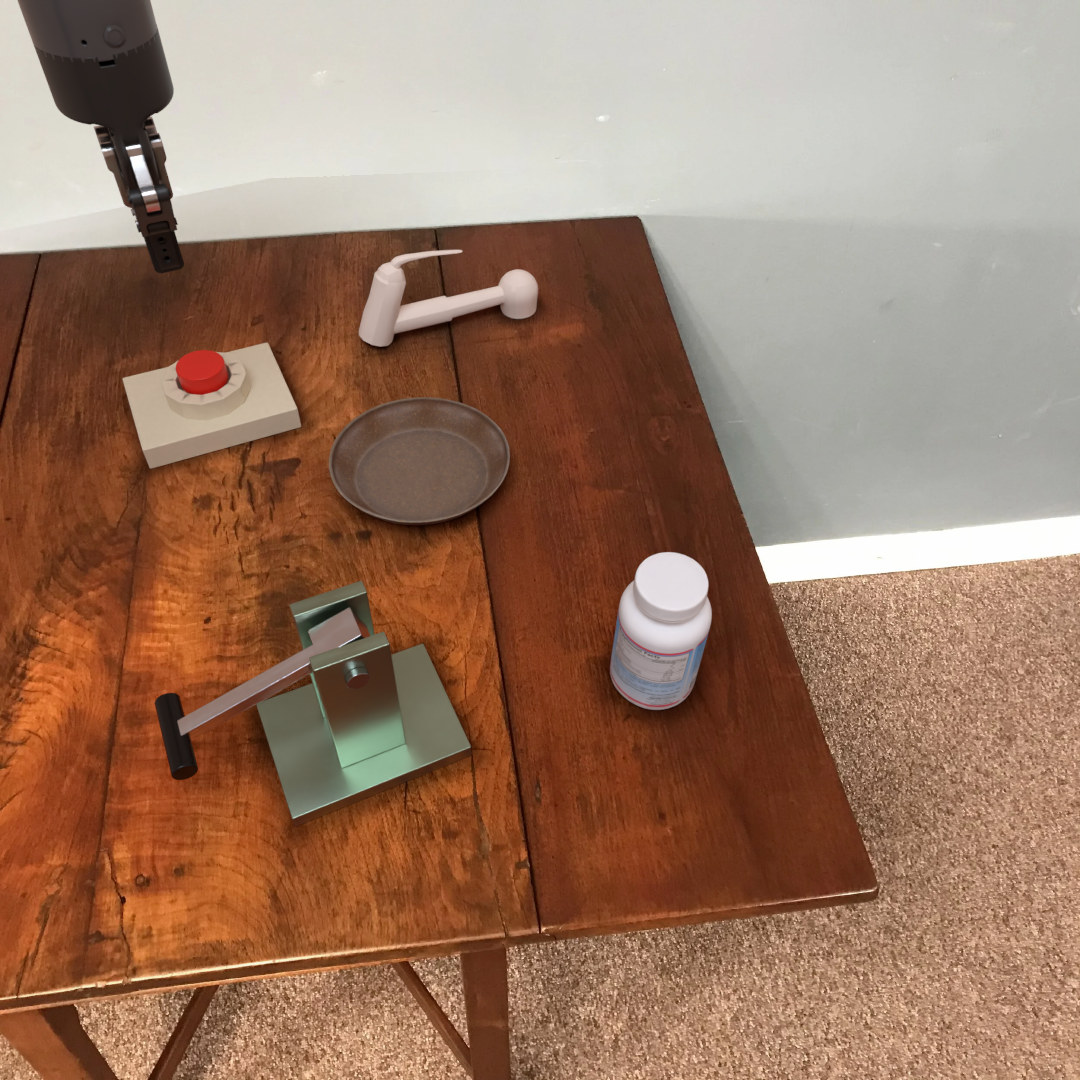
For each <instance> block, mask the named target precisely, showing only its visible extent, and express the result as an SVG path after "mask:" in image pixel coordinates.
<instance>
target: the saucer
mask: <svg viewBox="0 0 1080 1080" xmlns="http://www.w3.org/2000/svg"><path fill="white" fill-rule="evenodd" d="M510 460H511V452H510V445H509V442H508V439H507V437H506V435H505V433H504V432H503V430H502V429H501V427H500V426H498V424H497V423H496V422H495V421H494V420H493V419H492V418H490V417H489V416H488V415H487V414H485V413H483V412H482V411H480V410H479V409H477V408H475V407H473V406H470V405H468V404H465V403H462V402H459V401H456V400H451V399H447V398H441V397H433V396H431V397H429V396H421V397H420V396H419V397H418V396H417V397H406V398H400V399H395V400H391V401H387V402H384V403H381V404H378V405H376V406H373V407H372V408H369V409H367V410H366V411H363V412H362V413H360V414H359V415H357V416H356V417H354V418H353V419H352V420H351V421H350V422H348V423H347V424H346V425H345V426H344V427H343V429H341V431H340V432H339V433H338V434H337V436H336V438H335V439H334V441H333V443H332V445H331V447H330V452H329V457H328V471H329V475H330V479H331V481H332V483H333V485H334V487H335V488H336V490H337V491H338V493H339V494H340V495H341V496H342V498H344V499H345V500H346V501H347V503H349V504H351V506H353V507H354V508H356V509H358V510H360V511H361V512H363V513H365V514H367V515H368V516H370V517H373V518H376V519H378V520H381V521H383V522H387V523H392V524H397V525H402V526H403V525H406V526H427V525H435V524H436V525H437V524H441V523H445V522H448V521H451V520H454V519H457V518H459V517H462V516H464V515H466V514H469V513H470V512H472V511H474V510H476V509H477V508H478V507H479V506H481V505H482V504H484V503H485V502H486V501H487V500H488V499H489V498H490V497H492V496H493V494H495V492H497V490H498V489H499V487H500V486H501V485H502V483H503V482H504V480H505V478H506V476H507V474H508V472H509V471H508V470H509V467H510Z"/></svg>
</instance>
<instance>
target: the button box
mask: <svg viewBox="0 0 1080 1080" xmlns="http://www.w3.org/2000/svg"><path fill="white" fill-rule="evenodd" d="M216 352H217V353H218V354H220V355H221V356H222V357H223V359H224V362H225V365H226V369H227V372H228V381H227V383H226V385H225V386H224V387H222V388H221V389H219V390H218V391H216V392H212V393H208V394H204V395H196V394H190V393H187V392H186V391H185V390H183V388H182V387H181V384H180V381H179V379H178V376H177V373H176V364H177V362H178V361H179V360H180V359H178V360H176V361H175V362H174V363H172V364H171V365H169V366H166V367H162V368H158V369H157V368H156V369H153V370H149V371H145V372H141V373H137V374H133V375H130V376H125V377H122V379H121V380H122V383H123V387H124V390H125V393H126V396H127V400H128V404H129V408H130V411H131V416H132V419H133V422H134V425H135V429H136V432H137V436H138V439H139V443H140V446H141V451H142V453H143V455H144V458H145V460H146V463H147V466H148V468H149V469H155V468H159V467H163V466H166V465H170V464H173V463H177V462H180V461H185V460H187V459H191V458H195V457H198V456H202V455H206V454H209V453H213V452H216V451H220V450H221V451H222V450H225V449H227V448H232V447H235V446H239V445H242V444H245V443H249V442H253V441H256V440H260V439H263V438H267V437H271V436H274V435H279V434H282V433H285V432H289V431H292V430H296V429H299V428H302V423H301V417H300V413H299V408H298V407H297V404H296V402H295V400H294V397H293V395H292V393H291V391H290V389H289V386H288V384H287V381H286V380H285V377H284V376H283V373H282V371H281V368H280V366H279V364H278V361H277V360H276V357H275V356H274V353H273V351H272V349H271V346H270V344H269V342H262V343H259V344H254V345H251V346H247V347H243V348H239V349H234V350H230V351H226V352H222V351H221V352H220V351H216Z"/></svg>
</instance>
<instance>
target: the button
mask: <svg viewBox="0 0 1080 1080" xmlns="http://www.w3.org/2000/svg"><path fill="white" fill-rule="evenodd" d="M217 352H218V351H214V350H209V349H199V350H194V351H191V352H188V353H186V354H184V355H183V356H181V357H180V358H179V359H178V360H179V361H178V360H177V361H178V362H177V361H176V362H177V364H176V373H177V376H178V379H179V381H180V384H181V387H182V388H183V390H185V391H186V392H187V393H190V394H196V395H204V394H208V393H212V392H216V391H218V390H219V389H221V388H222V387H224V386H225V385H226V383H227V381H228V372H227V369H226V365H225V362H224V359H223V357H222V356H221V355H220V354H218V353H217Z"/></svg>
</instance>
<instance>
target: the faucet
mask: <svg viewBox="0 0 1080 1080" xmlns="http://www.w3.org/2000/svg"><path fill="white" fill-rule="evenodd" d="M461 253H463V250H462V249H442V250H428V251H420V252H413V253H412V252H411V253H404V254H400V255H397V256H395V257H393V258H392V259H391V260H390V261H389V262H386V263H382V264H381V265H380V266H379V267H378V268H377V270H376V271H375V272H374V275H373V279H372V283H371V286H370V291H369V295H368V297H367V300H366V303H365V306H364V309H363V311H362V315H361V320H360V324H359V328H358V337H359V338H360V339H361V340H362V341H363V342H366V343H367V344H370V345H371V346H375V347H388V346H389V345H391V344H392V343H393V340H394V337H395V335H396V334H401V333H406V332H411V331H413V330H418V329H422V328H428V327H431V326H436V325H439V324H440V325H441V324H445V323H448V322H451V321H453V319H454V318H457V317H461V316H466V315H468V314H472V313H475V312H478V311H483V310H485V309H489V308H492V307H496V306H500V310H501V313H502V314H503V315H504V316H506V317H507V318H510V319H515V320H522V319H526V318H530V317H532V316H533V315H534V314H535V313H536V311H537V306H538V296H539V284H538V282H537V280H536V278H535V277H534V275H533V274H531V273H530V272H529V271H527V270H525V269H519V268H516V269H512V270H509V271H507V272H505V274H504V275H503V276H502V277H501V278H500V281H499V283H498V285H497V286H492V287H488V288H483V289H478V290H474V291H470V292H464V293H461V294H456V295H453V296H452V295H451V296H446V295H440V296H436V297H432V298H428V299H424V300H420V301H419V300H418V301H416V302H415V301H414V302H411V303H406V304H403V305H401V304H402V303H401V302H402V299H403V296H404V292H405V288H406V285H407V281H406V275H405V271H404V269H403V268H402V267H401V266H402V265H404V264H407V263H410V262H413V261H417V260H422V259H426V258H429V257H430V258H431V257H438V256H439V257H441V256H448V255H458V254H461Z"/></svg>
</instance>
